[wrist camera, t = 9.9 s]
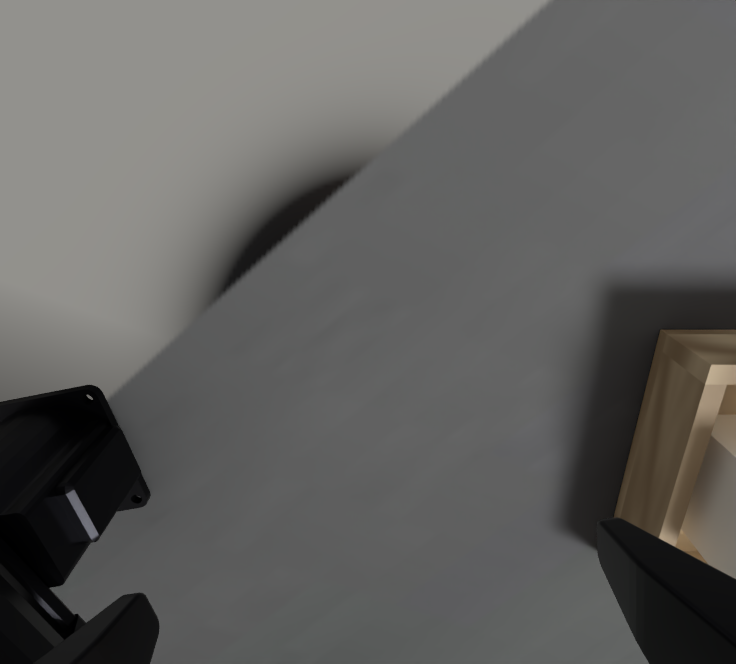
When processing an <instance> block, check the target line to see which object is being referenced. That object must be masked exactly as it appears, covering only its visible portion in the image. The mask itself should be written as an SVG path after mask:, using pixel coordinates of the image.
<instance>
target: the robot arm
mask: <svg viewBox="0 0 736 664" xmlns="http://www.w3.org/2000/svg"><path fill="white" fill-rule="evenodd" d="M87 394H88V395H90V396H91V397H92V398H93V400H91V399H89V398H88V397H87V396H86V395H87ZM136 495H138V496H140V497H141V498H139V497H137V496H136ZM149 498H150V491H149V489H148V487H147V485H146V482H145V480H144V478H143V476H142V474H141V470H140V468H139V466H138V463H137V461H136V459H135V457H134V455H133V453H132V451H131V449H130V447H129V444H128V442H127V440H126V438H125V436H124V434H123V432H122V430H121V429H120V428H119V426H118V424H117V422H116V419H115V417H114V415H113V413H112V411H111V409H110V407H109V405H108V403H107V400H106V398H105V396H104V394H103V392H102V391H101V390H100V389H99V388H98V387H96V386H93V385H85V386H80V387H75V388H70V389H65V390H59V391H54V392H49V393H44V394H39V395H34V396H29V397H23V398H19V399H13V400H8V401H3V402H0V664H150V662H151V659H152V655H153V652H154V648H155V645H156V642H157V638H158V634H159V621H158V618H157V616H156V614H155V612H154V610H153V608H152V606H151V604H150V603H149V601H148V599H147V597H146V595H144V594H143V593H134V594H127V595H123V596H122V597H120V598H119V599H117V600H116V601H115V602H113V603H112V604H111V605H109V606H108V607H107V608H105V609H104V610H103V611H102V612H100V613H99V614H98V615H96V616H95V617H94V618H92V619H91V620H90V621H88V622H87V623H86V622H85V621H84V620H83V619H82V618H81V617H80V616H79V615H78V614H73V613H72V612H71V611H70V610H69V609H68V608H67V607H66V606H65V604H64V603H63V602H62V601H61V600H60V599H59V598H58V597H57V596H56V595H55V594H54V593H53V592H52V591H51V590H50V587H56V586H61V585H63V584H64V582H65V581H66V579H67V578H68V576H69V575H70V573H71V572H72V570H73V569H74V567H75V566H76V564H77V563H78V561H79V560H80V558H81V557H82V555H83V554H84V552H85V551H86V549H87V548H88V546H89V544H90V543H92V542H96V541H98V540H99V538H100V536H101V535H102V533H103V532H104V530H105V529H106V527H107V526H108V524H109V523H110V521H111V519H112V518H113V516H114V515H115V513H116V512H117V511H123V510H128V509H134V508H140V507H143V506H145V505H146V503H147V502H148V500H149ZM597 551H598V557H599V561H600V564H601V567H602V569H603V571H604V573H605V575H606V578H607V580H608V582H609V584H610V586H611V588H612V590H613V593H614V595H615V597H616V599H617V601H618V603H619V606H620V608H621V610H622V612H623V614H624V616H625V618H626V621H627V623H628V625H629V627H630V629H631V631H632V633H633V635H634V637H635V639H636V641H637V643H638V645H639V647H640V648H641V650H642V652H643V654H644V655H645V657H646V659H647V660H648V662H649V664H736V579H735V578H733V577H731V576H729V575H727V574H725V573H724V572H722V571H720V570H718V569H716V568H714V567H712V566H710V565H708V564H707V563H705V562H703V561H701V560H699V559H697V558H695V557H693V556H692V555H690V554H688V553H686V552H684V551H682V550H680V549H678V548H676V547H675V546H673V545H671V544H669V543H667V542H665V541H663V540H661V539H660V538H658V537H656V536H654V535H652V534H650V533H648V532H646V531H644V530H643V529H641V528H639V527H637V526H635V525H633V524H631V523H629V522H627V521H626V520H624V519H621V518H619V517H615V518H608V519H602V520H599V521H598V522H597Z"/></svg>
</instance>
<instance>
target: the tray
mask: <svg viewBox="0 0 736 664" xmlns="http://www.w3.org/2000/svg"><path fill="white" fill-rule="evenodd" d="M717 415H736V330H660V333H659V337H658V341H657V345H656V349H655V353H654V357H653V361H652V365H651V369H650V373H649V377H648V381H647V385H646V389H645V393H644V397H643V401H642V405H641V409H640V413H639V417H638V421H637V425H636V429H635V433H634V437H633V441H632V445H631V449H630V453H629V457H628V461H627V465H626V469H625V473H624V477H623V481H622V485H621V489H620V493H619V497H618V501H617V505H616V509H615V513H614V517H613V518H615V517H619V518H621V519H624V520H626V521H627V522H629V523H631V524H633V525H635V526H637V527H639V528H641V529H643V530H644V531H646V532H648V533H650V534H652V535H654V536H656V537H658V538H660V539H661V540H663V541H665V542H667V543H669V544H671V545H673V546H675V547H676V548H678V549H680V550H682V551H684V552H686V553H688V554H690V555H692V556H693V557H695V558H697V559H699V560H701V561H703V562H705V563H707V562H706V561H705V559H704V558H703V557H702V555H701V554H700V553H699V552H698V550H697V549H696V548H695V546H694V545H693V544H692V543H691V541H690V540H689V539H688V538H687V536H686V535H685V534H684V532H683V531H682V530H681V527H682V524H683V521H684V518H685V515H686V511H687V508H688V505H689V502H690V499H691V496H692V493H693V490H694V486H695V483H696V480H697V477H698V474H699V471H700V468H701V465H702V462H703V458H704V455H705V452H706V449H707V446H708V443H709V440H710V437H711V433H712V430H713V427H714V424H715V421H716V418H717ZM707 564H708V563H707ZM708 565H709V564H708Z"/></svg>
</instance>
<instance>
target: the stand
mask: <svg viewBox="0 0 736 664" xmlns="http://www.w3.org/2000/svg"><path fill="white" fill-rule="evenodd" d="M681 530H682V531H683V532H684V534H685V535H686V536H687V538H688V539H689V540H690V541H691V543H692V544H693V545H694V546H695V548H696V549H697V550H698V552H699V553H700V554H701V555H702V557H703V558H704V559H705V561H706V562H707V563H708V564H709V565H710V566H712V567H714V568H716V569H718V570H720V571H722V572H724V573H725V574H727V575H729V576H731V577H733V578H735V579H736V415H717V418H716V421H715V424H714V427H713V430H712V433H711V437H710V440H709V443H708V446H707V449H706V452H705V455H704V458H703V462H702V465H701V468H700V471H699V474H698V477H697V480H696V483H695V486H694V490H693V493H692V496H691V499H690V502H689V505H688V508H687V511H686V515H685V518H684V521H683V524H682V527H681Z"/></svg>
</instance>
